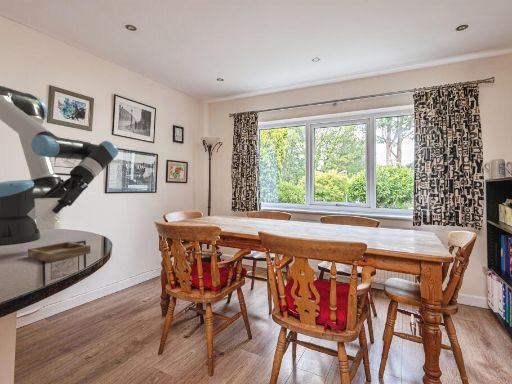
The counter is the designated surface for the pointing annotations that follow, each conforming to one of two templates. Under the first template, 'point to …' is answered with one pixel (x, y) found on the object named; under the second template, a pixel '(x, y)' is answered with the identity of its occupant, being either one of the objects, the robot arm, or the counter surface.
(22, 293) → the counter surface
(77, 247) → the walnut coaster tray
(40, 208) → the white cup
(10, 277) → the counter surface
